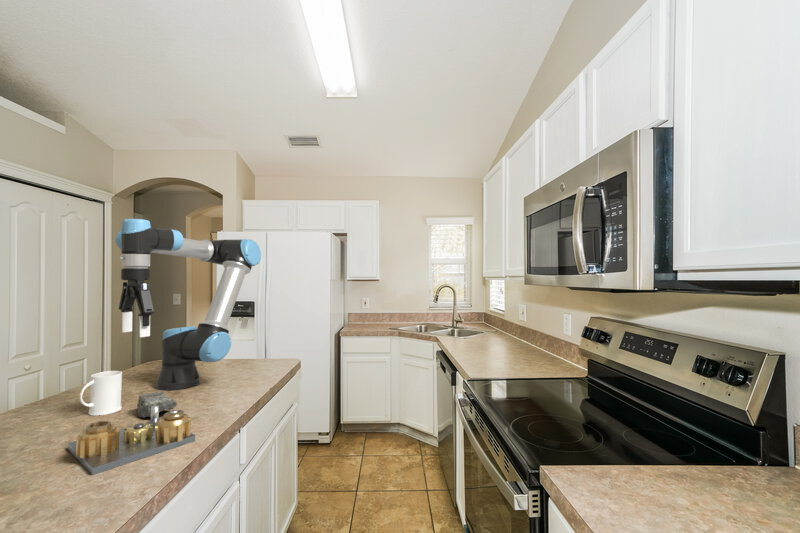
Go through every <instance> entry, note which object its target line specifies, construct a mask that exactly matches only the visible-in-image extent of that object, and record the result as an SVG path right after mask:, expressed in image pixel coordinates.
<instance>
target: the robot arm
mask: <svg viewBox="0 0 800 533" xmlns="http://www.w3.org/2000/svg"><path fill="white" fill-rule="evenodd" d="M115 243H116V246H117V247H118V248H119V249H121V251H120V252H121V256H120V257H119V260H121V262H120V263H121V267H122V268H121V271H120V273H121V274H120V278H121V280H122V281H126V282H122V290H121V296H120V300H119V305H118V310H120V312H121V333H130V332H133V312H134V309H133V307H134V303H135V301H136V303H137V307H138V310H139V313H138V320H139V321H138V338H146V337H150V336H151V315H152V314H155V310H154V306H153V301H152V296H151V292H150V283H148V282H145V281H149V280H150V279H151V269H150V266H151V253H152V254H161V255H167V256H176V257H177V256H178V257H185V258H191V259H198V260H199V261H201V262H206V263H211V264H216V265H220V266H221V265H222V266H223V268H224V270H223V271H222V275H221V277H220V279H219V283H218V285H217V288H216V289H215V293H214V296H213V298H212V300H211V303H210V306H209V309H208V310H207V313H206V315H205V318H204V320H203V321H202V322H199V323H198V325H197V326H195V325H192V326H182V327H174V328H169V329H166V330H164V331H163V333H162V339H161V342H162V344H161V368H160V370H159V374H158V376H157V379H156V381H155V388H156V389H157V390H160V391H174V390H177V391H178V390H183V389H187V388H192V387H195V386H197V385H199V384H200V383H201V382H200V380H201V378H200V374H199V371H198V369H197V365H196V362H204V363H216V362H220V361H221V360H222V359H224V358H225V357H226V356H227V355H228V354H229V352H230V349H231V346H232V338H231V336H230V334H229V333H230V330H229V328H228V324H229V320H230V318H231V316H232V313H233V309H234V307H235V304H236V301H237V299H238V295H239V293H240V290H241V288H242V285H243V282H244V279H245V276H246V275H247V274H250V272H251V271H252V267H255V266H257V265H258V264H260V262H261V260H262V252H261V248H260V246H259V243H257V242H256V241H255V240H253V239H246V238H243V239H242V238H241V239H216V240H215V239H213V240H212V239H210V240H209V239H202V240H196V239H192V238H186V237H184V236H183V234H182V232H181V231H179V230H177V229H172V228H159V227H153V226H152V225H151V222H150V220H147V219H141V218H125V219H123V220H122V222H121V229H120V230H119V232H118V233H117V234H116V236H115Z"/></svg>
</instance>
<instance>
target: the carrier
mask: <svg viewBox="0 0 800 533" xmlns="http://www.w3.org/2000/svg"><path fill="white" fill-rule="evenodd" d="M159 413H160V412H159V405H154V406H152V407H151V417H150V420H149V421H146V422H142V423H135V424H132V425H131V426H127V427H125V428H119V430H120V434H119V447H118V448H116V449H115V451H113V452H107V454H105V455H102V456H100V455H97V456H96V457H93V458H89V457H86V458H80V456H79V457H77V456H76V440H75V441H72V442H71V441H70V442H68V443H67V450H68V451H69V452H70V453H71V454H72V455H73V456H74V457H75V458H76V459H77V461H78V462H79V463H80V464H81V465H82V466H83V467H84V468H85V469H86V470H87V471H88V472H89V473H90V474H91V475H92V476H93V475H97V474H100V473H103V472H105V471H109V470H111V469H115V468H117V467H121V466H123V465H126V464H130V463H133V462H135V461H139V460H142V459H145V458H148V457H151V456H153V455H156V454H160V453H162V452H167V451H170V450H172V449H174V448H178V447H181V446H184V445H187V444H190V443H193V442H195V441H196V434H193V433H192V430H191V429H192V418H191V417H190V416H189V414H187V413H185V411H184V410H181V409H171V410H170V411H167V412H165V413H164V414H163V416H162V417H160V418H159V415H160V414H159ZM98 427H100V426H98Z"/></svg>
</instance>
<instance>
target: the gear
mask: <svg viewBox="0 0 800 533" xmlns="http://www.w3.org/2000/svg"><path fill="white" fill-rule="evenodd" d="M98 426H100V427H98ZM119 429H120V428H119V427H117V425H116V424H114V423H112V421H110V420H99V421H95V422H91V423H89V424H88V425H86V426H85V429H83V430H81V432H80V434H78V435H77V436H76V439H75V441H76V456H77V457H79V456H80V458H86V457H89V458H93V457H96V456H97V455H100V456H102V455H105V454H107V452H113V451H115V449H116V448H118V447H119V434H120V430H119Z"/></svg>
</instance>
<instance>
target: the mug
mask: <svg viewBox="0 0 800 533" xmlns="http://www.w3.org/2000/svg"><path fill="white" fill-rule="evenodd" d="M122 383H123V372H122V371H119V370H106V371H101V372H96V373H93V374H91V375H90V381H89V382H87V383H86V384H85V385H84V386H83V387H82V388H81V391H80V393H79V402H80V403H81V404H82V405H83V406H84V407H88V408H89V409H88V411H87V412H88V413H87V414H88V415H89V416H95V417H96V416H97V417H98V416H99V415H100V416H107V415H111V414H115V413H117V412H119V411H121V410H122V409H123V408H122V407H123V406H122V385H123V384H122ZM88 387H89V403H87V402H85V401H84V399H83V396H84V392H85V390H86V389H87V388H88Z"/></svg>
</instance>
